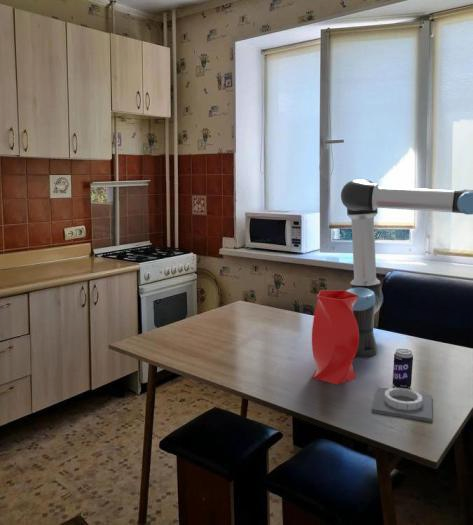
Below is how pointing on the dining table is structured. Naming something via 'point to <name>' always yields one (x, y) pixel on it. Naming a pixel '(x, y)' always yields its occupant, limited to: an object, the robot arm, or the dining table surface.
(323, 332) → the vase
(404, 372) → the beverage can
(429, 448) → the dining table surface
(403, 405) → the ring seat
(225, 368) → the dining table surface
